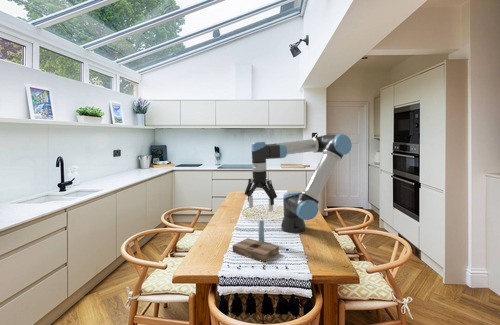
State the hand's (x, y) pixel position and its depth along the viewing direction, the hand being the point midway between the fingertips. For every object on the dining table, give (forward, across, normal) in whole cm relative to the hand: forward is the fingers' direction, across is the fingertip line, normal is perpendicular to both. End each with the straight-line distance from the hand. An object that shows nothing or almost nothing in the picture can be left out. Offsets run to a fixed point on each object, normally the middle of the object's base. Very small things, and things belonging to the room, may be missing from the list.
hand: (260, 209), depth 151 cm
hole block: (+18, +6, -13) cm, 23 cm away
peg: (+18, 0, 0) cm, 19 cm away
